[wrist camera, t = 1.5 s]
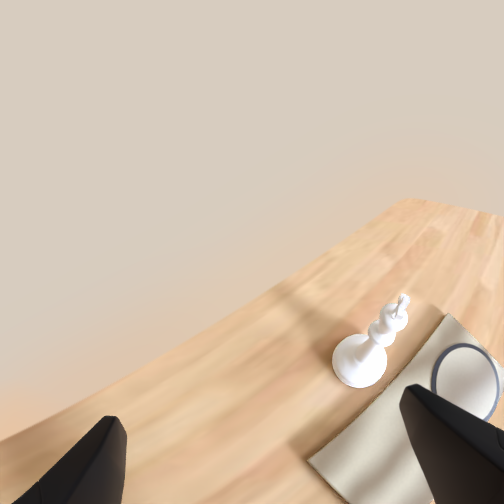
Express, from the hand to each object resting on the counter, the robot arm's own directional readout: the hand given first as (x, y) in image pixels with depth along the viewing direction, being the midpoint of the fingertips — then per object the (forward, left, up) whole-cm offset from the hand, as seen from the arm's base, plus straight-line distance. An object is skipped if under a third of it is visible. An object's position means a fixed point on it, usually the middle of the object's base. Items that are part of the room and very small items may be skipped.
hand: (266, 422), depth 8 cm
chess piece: (+1, -11, -15) cm, 19 cm away
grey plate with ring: (-8, -12, -15) cm, 21 cm away
